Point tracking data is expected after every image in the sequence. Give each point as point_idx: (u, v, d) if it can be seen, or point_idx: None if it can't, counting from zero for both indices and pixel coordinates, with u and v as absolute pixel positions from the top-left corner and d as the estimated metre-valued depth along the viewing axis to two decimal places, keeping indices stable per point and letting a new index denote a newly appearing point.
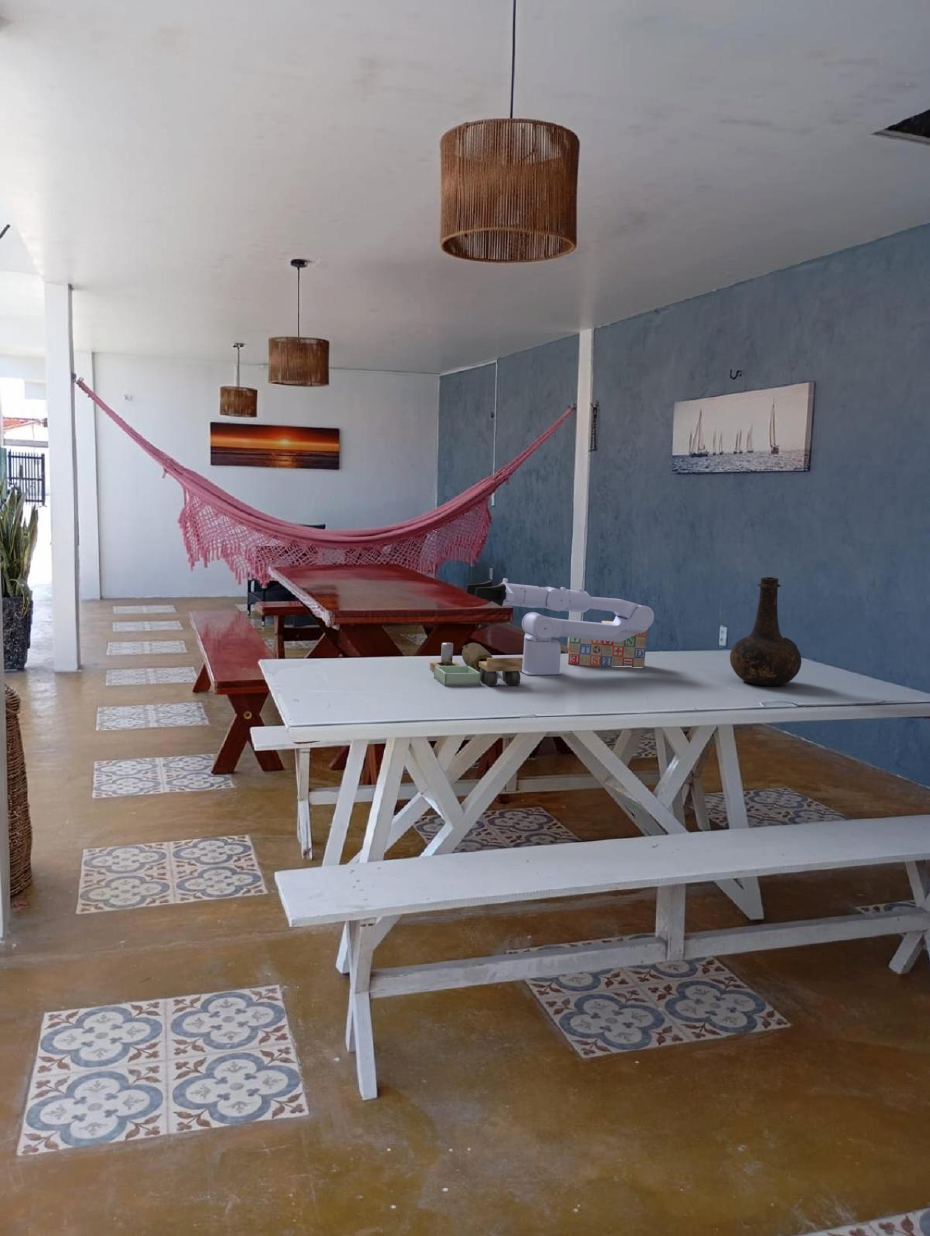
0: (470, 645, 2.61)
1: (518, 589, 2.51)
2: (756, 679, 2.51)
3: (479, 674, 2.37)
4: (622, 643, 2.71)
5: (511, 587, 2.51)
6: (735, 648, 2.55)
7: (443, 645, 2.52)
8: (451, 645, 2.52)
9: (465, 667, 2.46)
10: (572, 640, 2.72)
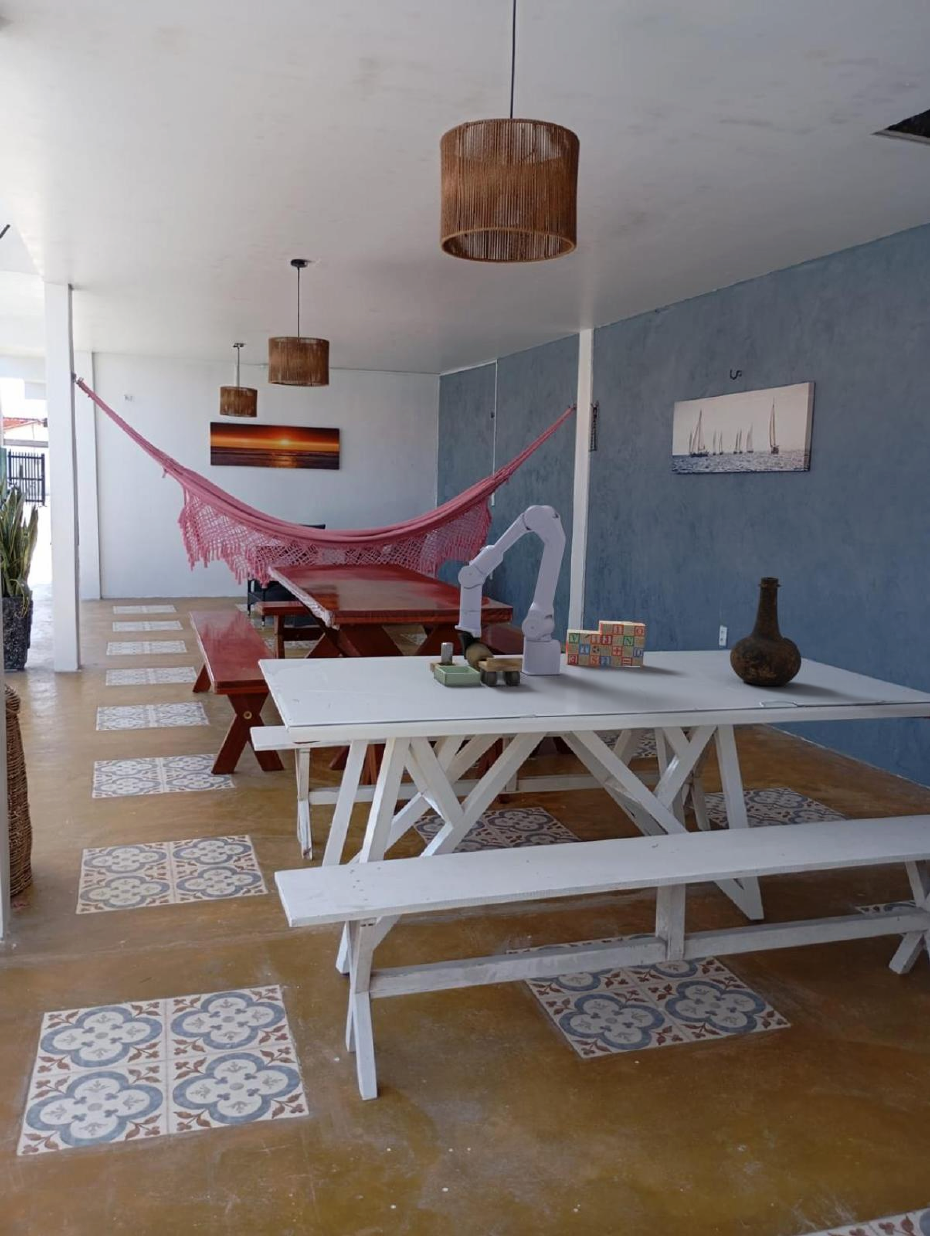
0: (473, 645, 2.60)
1: (466, 617, 2.61)
2: (756, 679, 2.51)
3: (479, 674, 2.37)
4: (621, 642, 2.72)
5: (465, 624, 2.62)
6: (735, 648, 2.55)
7: (443, 645, 2.52)
8: (451, 645, 2.52)
9: (465, 667, 2.46)
10: (571, 640, 2.72)
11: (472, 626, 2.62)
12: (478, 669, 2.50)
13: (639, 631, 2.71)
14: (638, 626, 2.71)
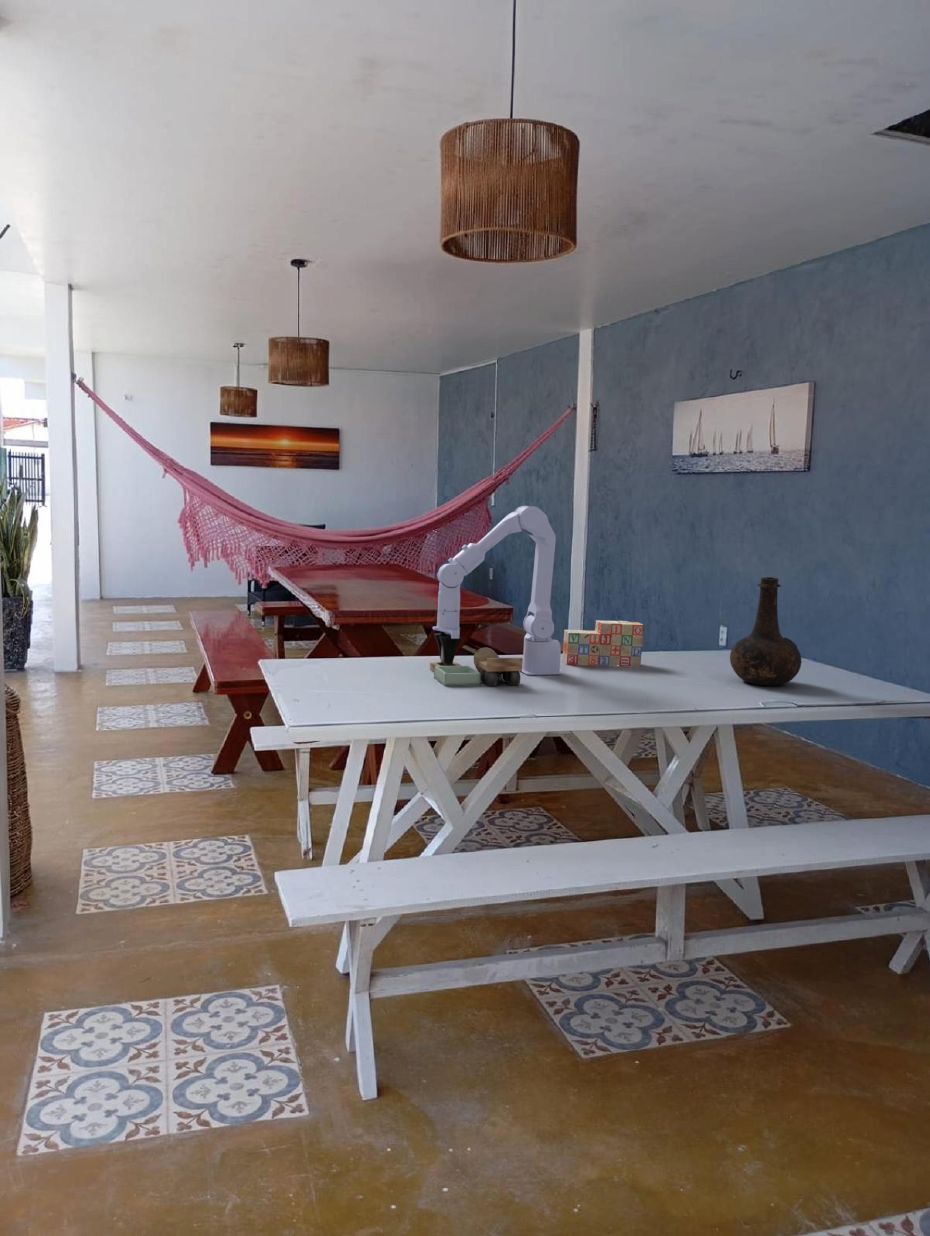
0: (481, 650, 2.54)
1: (444, 617, 2.49)
2: (756, 679, 2.51)
3: (479, 674, 2.37)
4: (619, 642, 2.73)
5: (442, 624, 2.50)
6: (735, 648, 2.55)
7: None
8: None
9: (465, 667, 2.46)
10: (570, 640, 2.71)
11: (450, 627, 2.50)
12: None
13: (637, 630, 2.73)
14: (636, 625, 2.72)
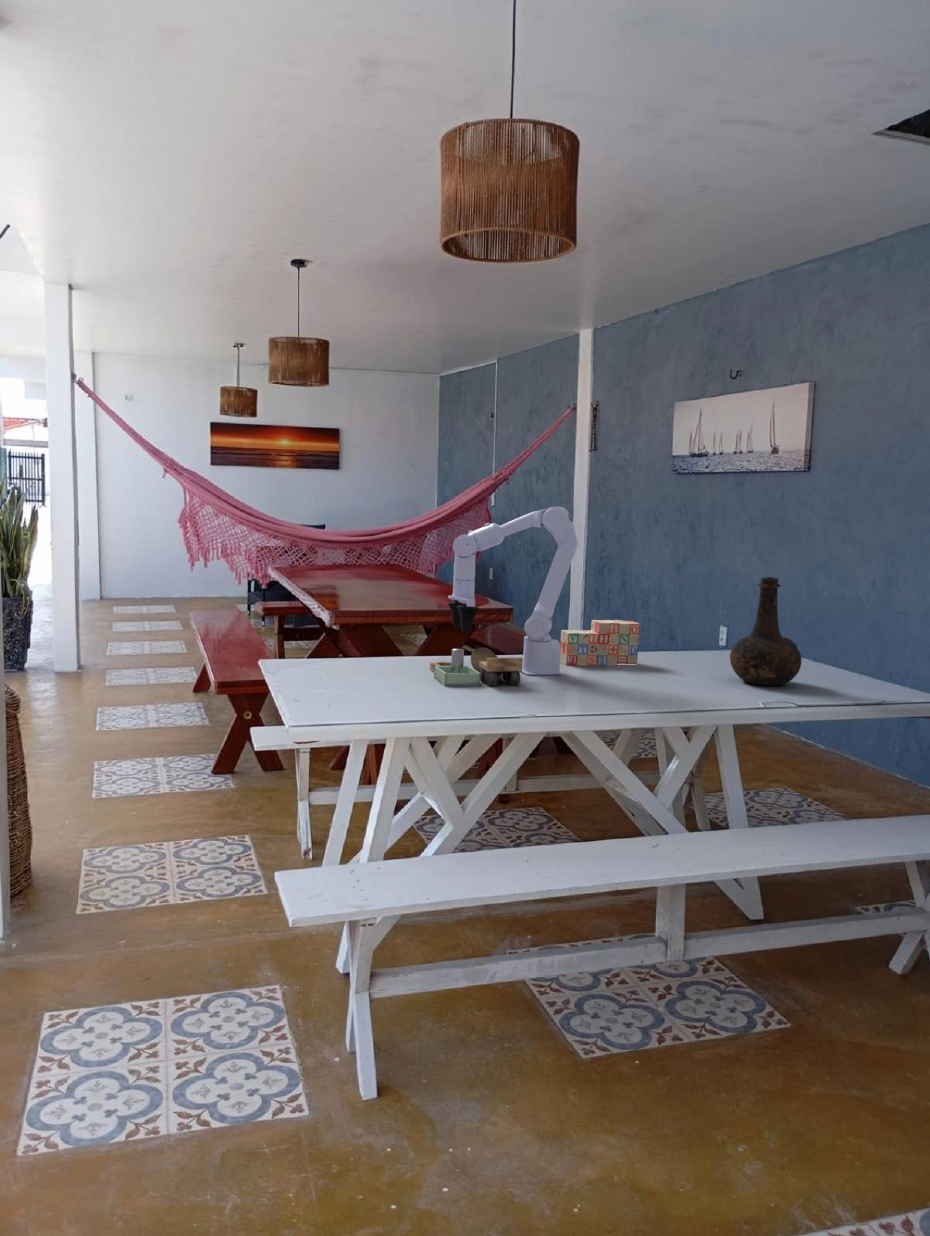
0: (479, 650, 2.54)
1: (460, 586, 2.57)
2: (756, 679, 2.51)
3: (479, 674, 2.37)
4: (617, 641, 2.74)
5: (458, 593, 2.57)
6: (735, 648, 2.55)
7: (454, 651, 2.39)
8: (462, 651, 2.39)
9: (465, 667, 2.46)
10: (570, 640, 2.70)
11: (466, 596, 2.57)
12: None
13: (634, 629, 2.74)
14: (633, 624, 2.74)
